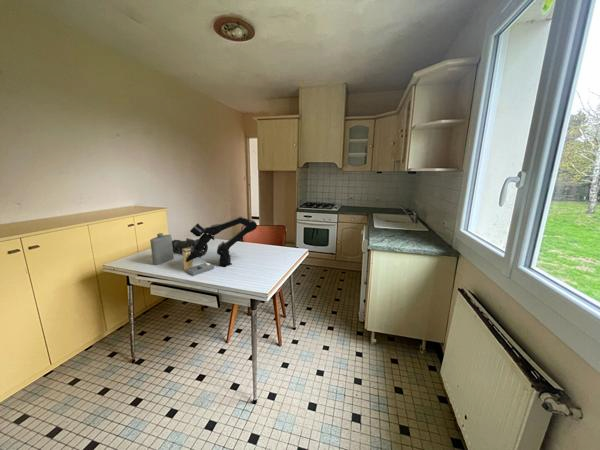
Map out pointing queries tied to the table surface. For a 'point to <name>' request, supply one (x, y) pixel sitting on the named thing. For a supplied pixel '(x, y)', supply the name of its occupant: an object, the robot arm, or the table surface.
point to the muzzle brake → (184, 246)
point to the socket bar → (200, 268)
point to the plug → (185, 255)
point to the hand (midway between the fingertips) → (185, 260)
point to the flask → (161, 248)
